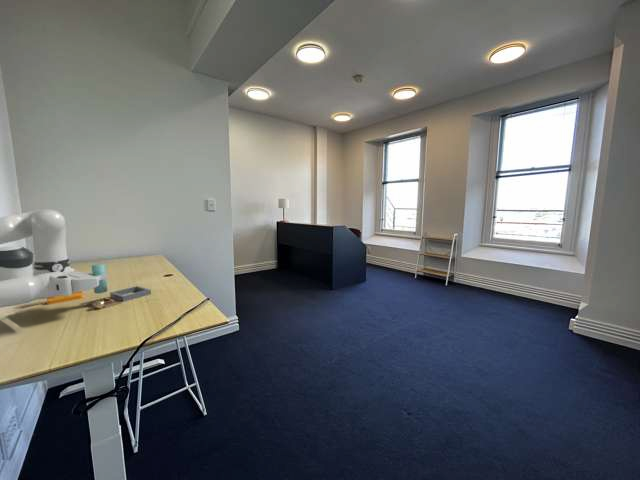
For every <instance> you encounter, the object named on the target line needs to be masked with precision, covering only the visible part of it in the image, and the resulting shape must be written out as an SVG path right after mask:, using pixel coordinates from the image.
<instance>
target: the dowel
mask: <svg viewBox="0 0 640 480" xmlns="http://www.w3.org/2000/svg"><path fill="white" fill-rule="evenodd" d="M91 273H92V274H93V276H98V275H101V274H105V275H106V276H107V274H106V264H104V263H103V264H101V263H100V264H94V265H93V264H92V265H91ZM93 292H94V294H102V293H106V292H108V284H107V278H106V279H102V280H99V286H98V287H96V288H93Z"/></svg>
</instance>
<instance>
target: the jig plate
mask: <svg viewBox="0 0 640 480" xmlns="http://www.w3.org/2000/svg"><path fill="white" fill-rule="evenodd" d="M97 301H104V302H105V308H104V309H106V308H111V307H113V306H118V305H120V304H121V305H122V301H119V300H118V301H117V300H116V299H114V298H111V297H106V296H105V297H102V298H97V299H94V300H89V301H85V302H82V303H80V306H83V307H86V308H89V309H90V310H92V311H99V310H101V309H98V310H96V309H95V305H94V302H97Z"/></svg>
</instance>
